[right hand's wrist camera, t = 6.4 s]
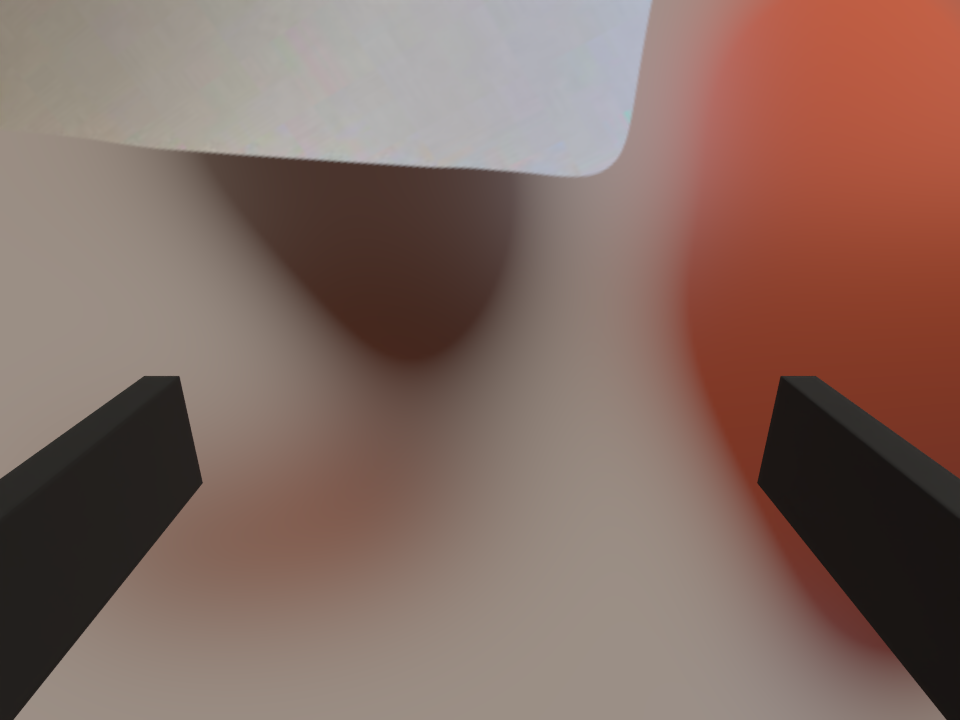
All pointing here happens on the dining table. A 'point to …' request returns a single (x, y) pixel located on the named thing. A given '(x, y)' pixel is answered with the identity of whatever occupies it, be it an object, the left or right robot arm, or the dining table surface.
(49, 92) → the dining table surface
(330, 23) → the dining table surface
